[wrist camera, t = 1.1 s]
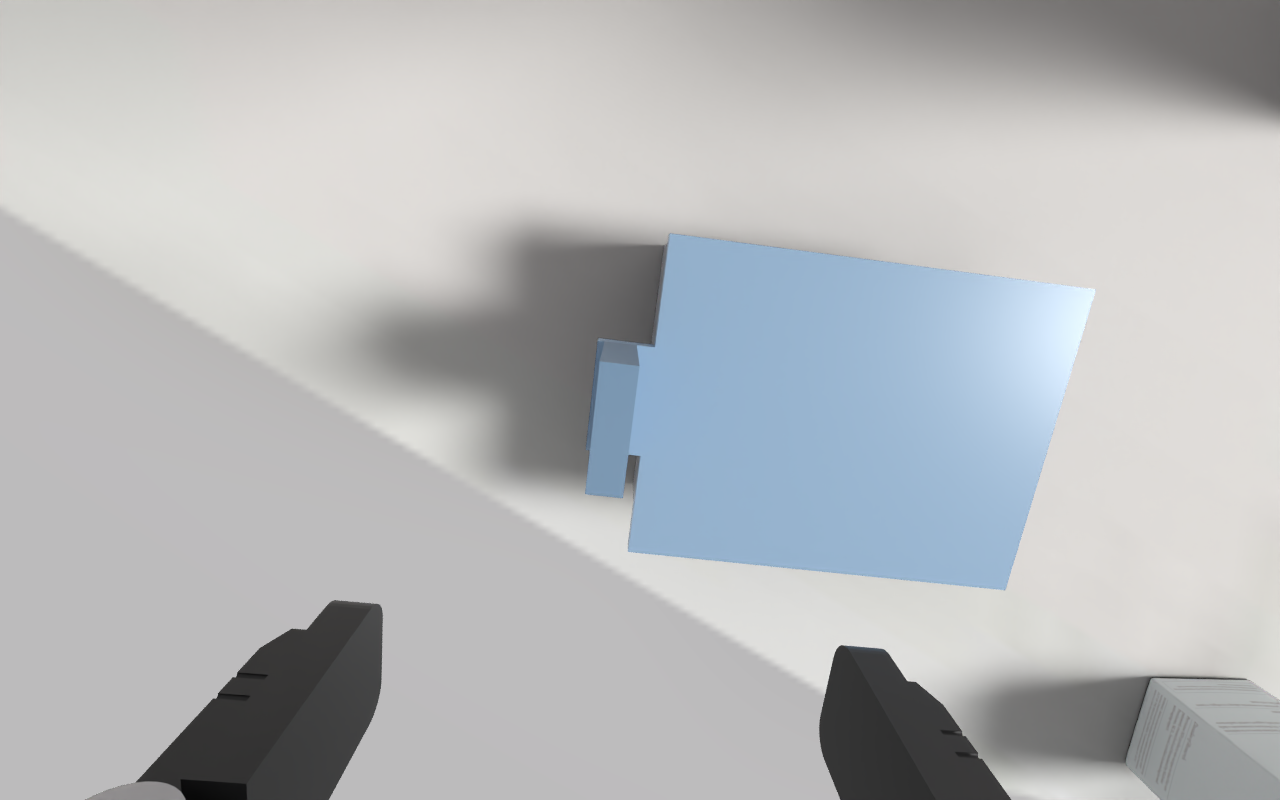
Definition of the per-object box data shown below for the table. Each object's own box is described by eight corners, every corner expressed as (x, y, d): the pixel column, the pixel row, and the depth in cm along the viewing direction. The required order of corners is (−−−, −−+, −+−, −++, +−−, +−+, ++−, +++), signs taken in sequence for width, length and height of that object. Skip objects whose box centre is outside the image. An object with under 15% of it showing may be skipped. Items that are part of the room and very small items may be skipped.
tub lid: (611, 227, 26) (606, 217, 19) (1065, 287, 27) (1207, 297, 21) (578, 529, 29) (564, 608, 23) (983, 570, 31) (1082, 658, 24)
